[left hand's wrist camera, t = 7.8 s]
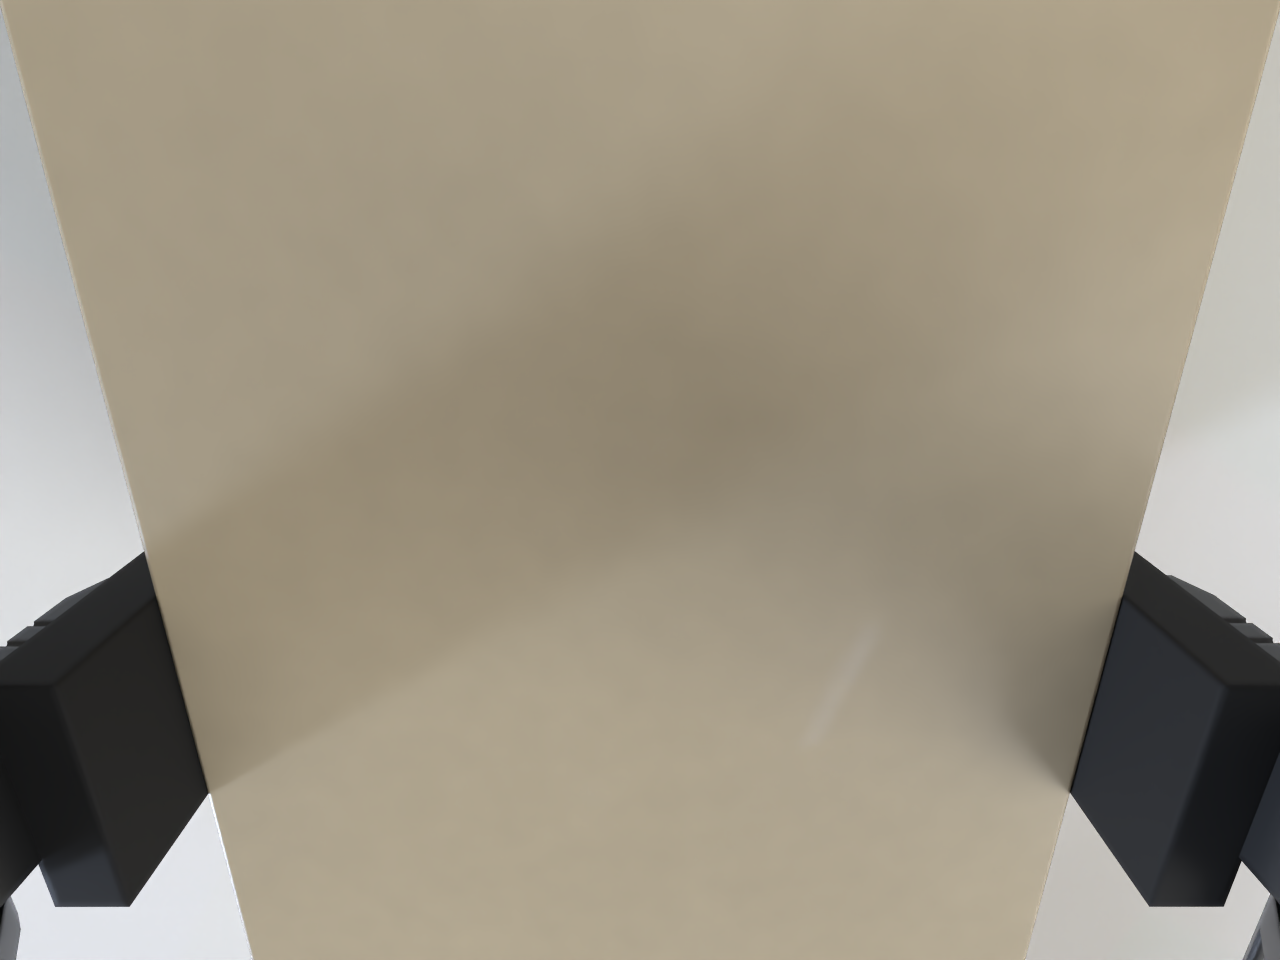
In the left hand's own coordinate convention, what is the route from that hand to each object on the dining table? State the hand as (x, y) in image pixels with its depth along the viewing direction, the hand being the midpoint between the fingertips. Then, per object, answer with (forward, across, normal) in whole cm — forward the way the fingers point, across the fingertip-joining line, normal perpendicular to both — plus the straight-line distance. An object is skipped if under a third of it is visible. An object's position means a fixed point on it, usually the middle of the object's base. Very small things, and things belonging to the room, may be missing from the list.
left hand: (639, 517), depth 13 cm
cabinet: (+4, 0, -5) cm, 6 cm away
